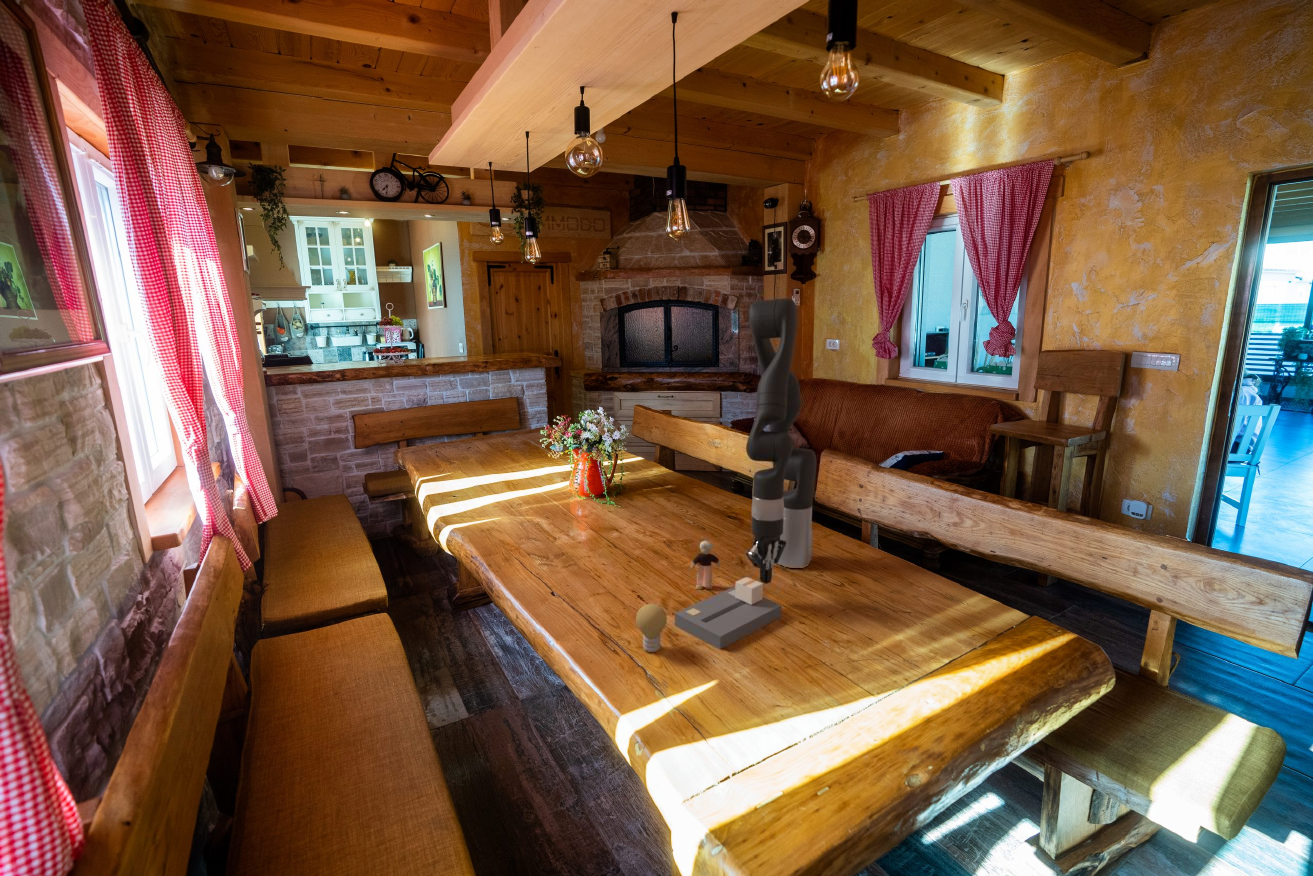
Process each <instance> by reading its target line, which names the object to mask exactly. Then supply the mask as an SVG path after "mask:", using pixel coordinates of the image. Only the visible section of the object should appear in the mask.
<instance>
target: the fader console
mask: <svg viewBox="0 0 1313 876" xmlns="http://www.w3.org/2000/svg"><path fill="white" fill-rule="evenodd" d="M782 612H783V611H782V604H780V603H778V602H776V601H773V600H771V599H768V598H766V597H764V596H763V597H762V600H760V601H758V602H756V603H754V604H752V605H751V604H749V603H746V602H744V601H742V600H740V599H737V598H735V585H734V586H732V587H730V588H727V589H726V590H723V591H721V592H719V593H717V594H715V595H712V596H711V597H708V598H705V599H703V600H701V601H699V602H696V603H695V604H692V605H690V606H688V607H686V608H683V609H681V610H679V611H677V612H675V613H674V626H675V627H677V628H679V629H681V630H683V631H685V632H687V633H688V634H690V635H692V636H694V637H696V638H698V639H700V640H702V641H703V642H705V643H707V644H709V645H710V646H713V647H715V648H717V649H718V650H722V649H724V648H726V647H727V646H729V645H731V644H733V643H735V642H737V641H739V640H740V639H742V638H745V637H747V636H748V635H750V634H752V633H754V632H756V631H758V630H760V629H761V628H763V627H766V626H767V625H769V624H771V623H773V622H775V621H776V620H778V619H780V618H782ZM779 617H780V618H779ZM777 618H778V619H777ZM774 620H775V621H774ZM772 621H773V622H772ZM770 622H771V623H770ZM768 623H769V624H768ZM766 624H767V625H766ZM759 628H760V629H759ZM757 629H758V630H757ZM744 636H745V637H744Z"/></svg>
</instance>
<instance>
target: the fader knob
mask: <svg viewBox="0 0 1313 876" xmlns="http://www.w3.org/2000/svg"><path fill="white" fill-rule="evenodd" d="M734 586H735V598H737V599H740V600H742V601H744V602H746V603H749V604H751V605H752V604H754V603H756V602H758V601H760V600H762V597H764V596H763V594H764V593H763V591H764V590H763V588H764V583H763V582H761V581H758V580H756V579H752V578H750V577H747V576H746V577H743V578H741V579H739V580H737V581H735V585H734Z"/></svg>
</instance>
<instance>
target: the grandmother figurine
mask: <svg viewBox="0 0 1313 876" xmlns="http://www.w3.org/2000/svg"><path fill="white" fill-rule="evenodd" d="M699 549H700V552H701V553H699V554H697V555H696V556H695V558H694V559H693V560H692V563H691V565H690V569H692V570H694V569H695V566H696V565H698V566H697V575H696V586H694V587H695V589H696V590H702V589H706V590H712V589H713V585H712V581H713V580H712V579H713V565H712V563H715V564H716V567H717V568H720V567H721V566H722V564H721V563H720V559H719V558H718V556H716V555H714V554H712V553H711V552H712V551H711V550H712V549H713V545H712V543H711V542H710V541H708V540H703V541H701V542H700V544H699Z"/></svg>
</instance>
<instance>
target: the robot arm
mask: <svg viewBox="0 0 1313 876" xmlns="http://www.w3.org/2000/svg"><path fill="white" fill-rule="evenodd" d="M797 308H798V307H797V304H796V302H795V301H794V299H793V298H788V297H787V298H786V297H785V298H777V299H776V298H775V299H766V300H757V301H753V302H752V303H751V304H750V307H749V310H748V311H749V312H748V318H749V320H748V321H749V327H750V332H751V336H752V340H753V344H754V349H755V352H756V357H757V359H758V365H759V369H760V379H759V382H758V384H757V390H756V405H755V407H756V408H755V416H754V421H753V424H752V427H751V430H750V433H749V436H748V439H747V442H746V445H745V449H746V451H745V452H746V455H747V457H748V458H749V459H750V460H751V461H754V462H767V463H772V467H770V468H765V469H761V470H758V471H756V472H754V475H753V482H752V485H753V486H752V487H753V488H752V492H753V493H752V502H751V519H750V521H751V526H750V527H751V528H750V529H751V530H750V531H751V533H752V535H753V537H754V538H753V542H752V546H753V547H752V548H751V549H750V550H746V551H745V555H746V557H747V558H748V559H749V561H750V562H751V565H752V566H753V567H755V568H758V569H759V582H760V583H763V584H766V585H768V584H770V583H771V582H772V577H773V568H774V566H775V564H777V563H778V564H780V565H783V566H786V567H794V568H795V567H796V568H797V567H803V566H806V565H808V564H809V563H811V562H810V560H811V561H812V558H813V557H812V555H813V554H812V553H813V529H812V519H813V518H812V517H813V499H814V494H815V485H816V483H815V482H816V475H817V466H818V465H817V455H816V453H815V451H814V450H813V449H809V448H803V447H802V448H801V447H795V446H794V442H793V441H794V440H793V438H792V436H791V435H790V434H789V432H790V429H791V427H792V426H793V424H794V423H795V421H796V419H797V417H798V416H799V414H800V412H801V410H802V406H803V405H802V403H803V402H802V395H801V389H800V382H799V380H798V378H797V376H796V375H795V374H794V372H793V371H792V370H791V366H792V360H793V356H794V351H795V350H794V349H795V344H796V337H797V331H798V321H799V320H798V318H799V317H798V309H797ZM779 338H780V341H779V346H778V349H777V350H776V351H775V349H774V347H773V345H772V342H771V339H779ZM767 426H768V427H769V431H768V430H767V431H764V429H765V428H766V427H767ZM785 480H786V481H792V482H797V483H796V488H794V489H793V488H792V489H789V490H784V488H785V487H784V482H785ZM780 565H779V566H780Z"/></svg>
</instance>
